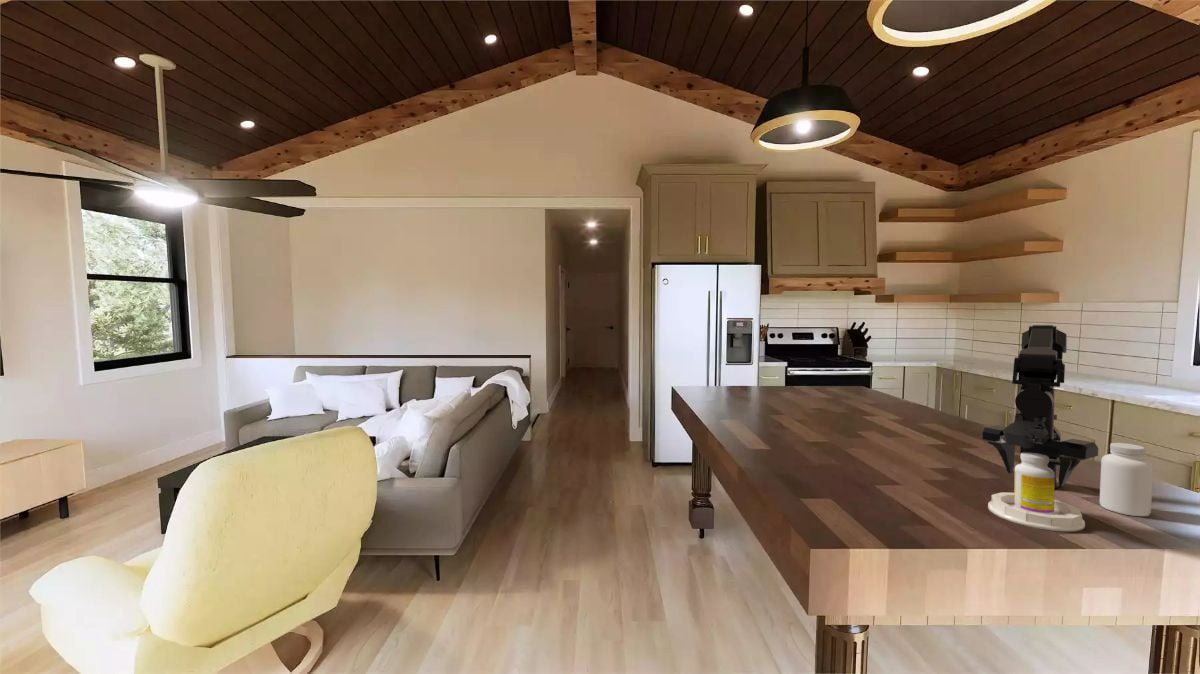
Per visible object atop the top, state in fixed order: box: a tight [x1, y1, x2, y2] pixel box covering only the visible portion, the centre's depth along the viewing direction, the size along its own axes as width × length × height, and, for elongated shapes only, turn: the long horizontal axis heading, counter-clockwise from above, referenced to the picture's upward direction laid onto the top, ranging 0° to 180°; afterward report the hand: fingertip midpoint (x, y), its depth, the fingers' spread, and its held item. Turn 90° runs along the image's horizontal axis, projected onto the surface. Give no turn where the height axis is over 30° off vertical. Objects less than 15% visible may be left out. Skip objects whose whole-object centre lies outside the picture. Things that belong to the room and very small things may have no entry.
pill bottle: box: [1099, 442, 1154, 517], centre depth 109 cm, size 8×8×15 cm
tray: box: [987, 491, 1086, 533], centre depth 107 cm, size 16×16×3 cm
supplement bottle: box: [1013, 452, 1055, 515], centre depth 107 cm, size 7×7×13 cm
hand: (1034, 479), depth 107 cm, fingers open, 9 cm apart
